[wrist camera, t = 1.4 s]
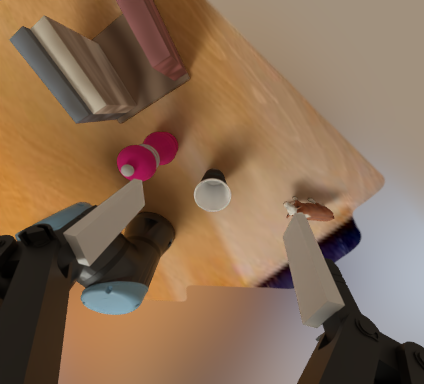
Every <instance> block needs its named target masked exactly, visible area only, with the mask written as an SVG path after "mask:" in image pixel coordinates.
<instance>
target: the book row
mask: <svg viewBox="0 0 424 384" xmlns="http://www.w3.org/2000/svg"><path fill="white" fill-rule="evenodd" d="M116 1H117V3H118V5H119V7H120V9H121V11H122V12H123V14H122V15H121V16H119V17H118V18H117V19H116V20H115V21H114V22H112V23H111V24H110V25H109V26H108V27H107V28H105V29H104V30H103V31H102V32H101V33H100V34H98V35H97V36H96V37H95V38H94V39H93V40H90V39H88V38H86V37H84V36H82V35H81V34H79V33H77V32H75V31H73V30H71V29H69V28H67V27H65V26H64V25H62V24H60V23H58V22H56V21H54V20H52V19H50V18H48V17H47V16H45V15H44V16H43V17H42V18H41V19H40V20H39V21H38V22H37V23H36V24H35V25H34V26H33V27H32V28H31V29H29V28H26V27H24V26H22V27H21V28H20V29H19V30H18V31H17V32H16V33H15V34H14V35H13V36H12V38H11V39H10V41H11V42H12V44H13V45H14V46H15V47H16V49H17V50H18V51H19V53H20V54H21V55H22V56H23V58H24V59H25V60H26V61H27V63H28V64H29V65H30V66H31V68H32V69H33V70H34V71H35V73H36V74H37V75H38V76H39V78H40V79H41V80H42V81H43V83H44V84H45V85H46V86H47V88H48V89H49V90H50V91H51V93H52V94H53V95H54V96H55V98H56V99H57V100H58V101H59V103H60V104H61V105H62V106H63V108H64V109H65V110H66V111H67V113H68V114H69V115H70V116H71V118H72V119H73V120H74V121H75V123H86V122H96V121H106V120H115V119H117V120H118V122H119V123H123V122H125V121H127V120H128V119H130V118H131V117H133V116H134V115H136V114H137V113H139V112H140V111H142V110H144V109H145V108H147V107H148V106H150V105H151V104H153V103H154V102H156V101H158V100H159V99H161V98H162V97H164V96H165V95H167V94H168V93H170V92H171V91H173V90H175V89H176V88H178V87H179V86H181V85H182V84H184V83H185V82H187V81H189V80H190V77H189V75H188V73H187V71H186V68H185V66H184V64H183V62H182V60H181V58H180V56H179V54H178V52H177V49H176V47H175V45H174V43H173V41H172V39H171V37H170V35H169V33H168V30H167V28H166V26H165V24H164V22H163V20H162V18H161V16H160V14H159V11H158V9H157V7H156V5H155V3H154V1H153V0H116Z"/></svg>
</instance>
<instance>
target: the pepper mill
mask: <svg viewBox="0 0 424 384" xmlns="http://www.w3.org/2000/svg"><path fill="white" fill-rule="evenodd" d="M177 150H178V142H177V140H176V138H175V137H174V136H173V135H172V134H170V133H168V132H154V133H152V134H150V135H148V136H147V137H146V139H145V140H144V142H143V144H141V145H131V146H128V147H126V148H124V149H123V150H122V151H121V152H120V153H119V155H118V157H117V166H118V169H119V171H120V173H121V174H122V175H123V176H124V177H125V178H127V179H128V180H133V179H138V180H142V182H143V181H146V180H148V179H150V178H151V177H152V176H153V175H154V173H155V171H156V168H157V167H158V166H159V165H165V164H168V163H169V162H171V161H172V160H173V159H174V157H175V155H176V152H177Z"/></svg>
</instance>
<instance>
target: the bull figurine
mask: <svg viewBox="0 0 424 384" xmlns="http://www.w3.org/2000/svg"><path fill="white" fill-rule="evenodd" d="M292 199H293V200H295V203H294V204H290V203H289V202H287V201H286V202H285V203H283V205H284V206H285V207H286V209H287V211H288V215H287V218H288V217H289V216H290V215H292V216H293V215H294V213H299V214H304V215H305V216H306V219H307V220H317V221H330V220H332V219H334V216H333V212H332V211H331V210H329V209H328V208H327V207H325V206H324V205H323V204H320V203H317V202H315V201H314V200H313V199H311V198H308V201H310V202H312V203H301V202H299V201H298V200H297V199H298V198H296V197H295V196H293V197H292ZM313 203H314V204H313Z"/></svg>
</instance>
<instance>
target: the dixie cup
mask: <svg viewBox="0 0 424 384" xmlns="http://www.w3.org/2000/svg"><path fill="white" fill-rule="evenodd" d="M194 199H195V202H196V203H197V205H198V206H199V207H200V208H202V209H204V210H206V211H210V212H216V211H220V210H222V209H224V208H225V207H226V206H227V205H228V204H229V202H230V200H231V191H230V188H229V187H228V185H227V183H226V180H225V177H224V175H223V173H222V172H221V171H220V170H218V169H210V170H208V171H207V172H206V173H205V175H204V177H203V178H202V180H201V182H200V183H199V184H198V185H197V186H196V188H195V190H194Z"/></svg>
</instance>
